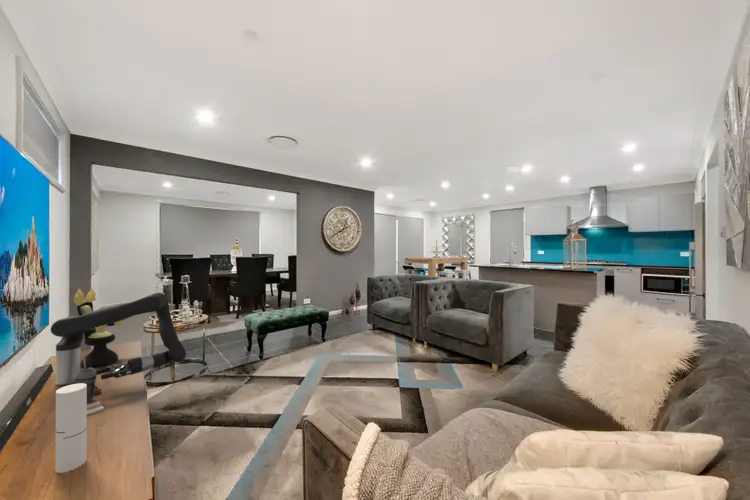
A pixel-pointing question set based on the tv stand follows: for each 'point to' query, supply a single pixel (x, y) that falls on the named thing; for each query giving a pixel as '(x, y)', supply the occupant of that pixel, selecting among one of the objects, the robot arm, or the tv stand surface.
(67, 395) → the cylindrical container
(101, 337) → the black yellow plant sculpture
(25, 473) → the tv stand surface
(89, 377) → the beverage cup
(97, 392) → the marble tray
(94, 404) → the ash board
